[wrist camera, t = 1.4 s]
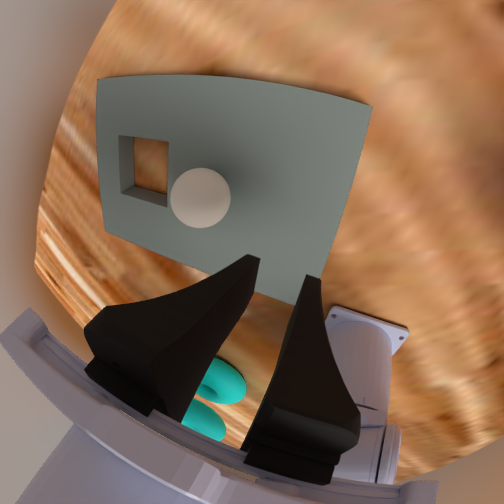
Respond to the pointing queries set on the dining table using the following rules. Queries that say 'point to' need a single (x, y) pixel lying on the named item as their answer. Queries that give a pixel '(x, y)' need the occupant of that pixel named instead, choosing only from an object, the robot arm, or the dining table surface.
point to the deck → (233, 170)
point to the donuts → (215, 399)
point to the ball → (200, 197)
